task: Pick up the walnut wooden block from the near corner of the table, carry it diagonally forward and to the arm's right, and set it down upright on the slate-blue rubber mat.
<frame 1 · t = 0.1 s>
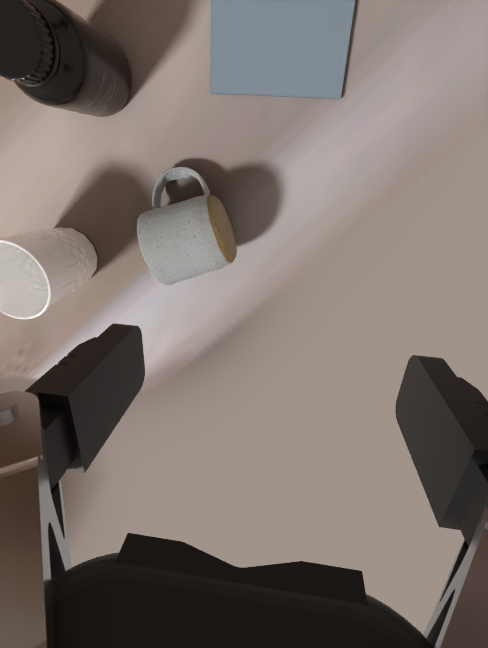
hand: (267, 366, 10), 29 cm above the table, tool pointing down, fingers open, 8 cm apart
supplement bottle: (100, 77, 33), on the table
ceramic mug: (192, 220, 38), on the table
slate mat: (281, 12, 29), on the table
white cup: (72, 254, 42), on the table
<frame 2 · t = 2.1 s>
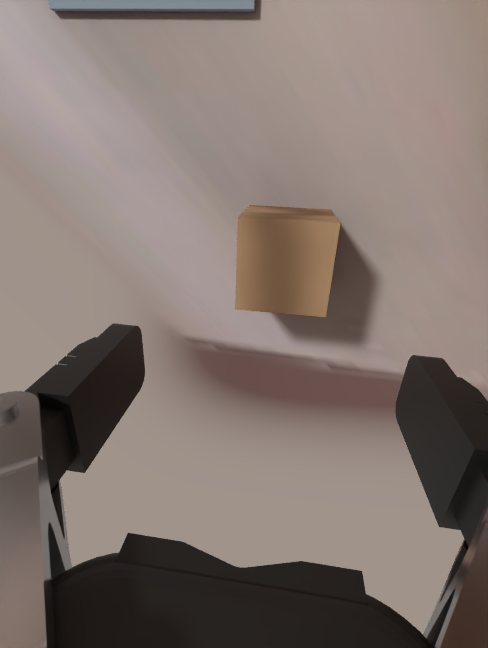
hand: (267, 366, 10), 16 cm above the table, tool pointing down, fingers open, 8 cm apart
walnut block: (286, 247, 25), on the table
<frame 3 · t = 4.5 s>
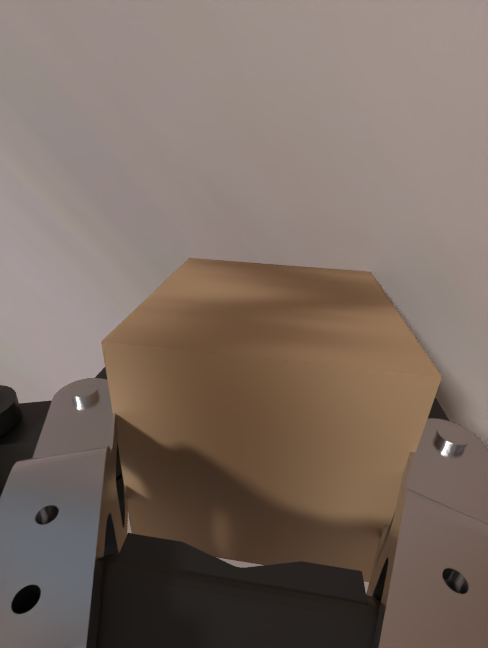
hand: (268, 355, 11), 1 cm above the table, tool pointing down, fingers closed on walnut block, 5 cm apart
walnut block: (270, 343, 12), on the table, touching gripper
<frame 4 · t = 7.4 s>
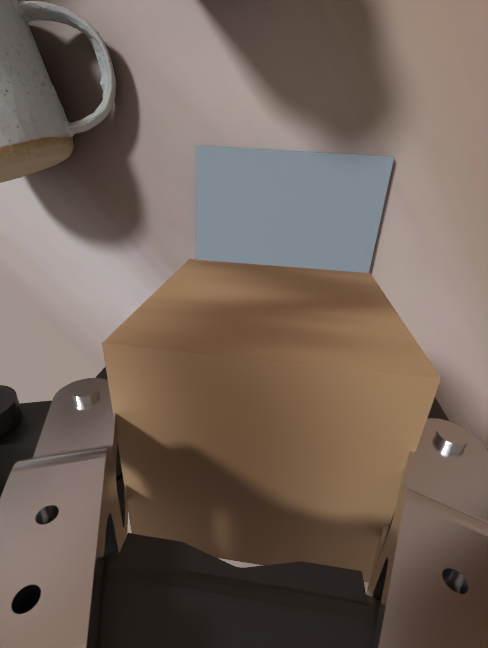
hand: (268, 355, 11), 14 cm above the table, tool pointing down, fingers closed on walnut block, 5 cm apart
ceramic mug: (43, 90, 22), on the table
walnut block: (270, 344, 12), point 14 cm above the table, touching gripper
slate mat: (282, 247, 24), on the table
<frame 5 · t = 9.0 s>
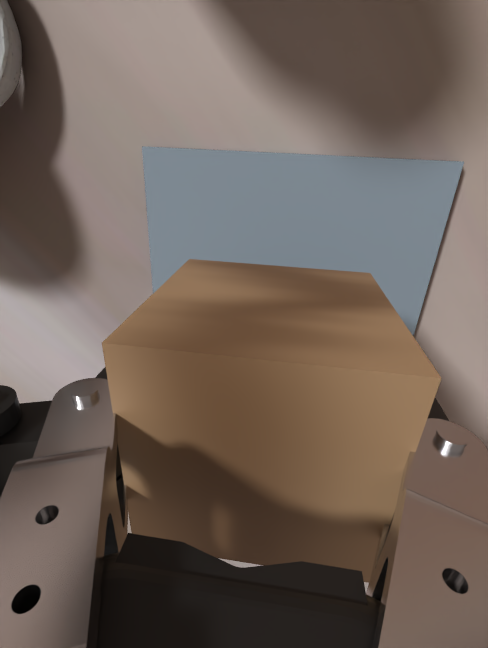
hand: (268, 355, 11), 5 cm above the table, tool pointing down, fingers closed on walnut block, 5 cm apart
walnut block: (270, 344, 12), point 5 cm above the table, touching gripper
slate mat: (281, 298, 16), on the table
when the fingers open (3 cm above the table, at t = 10.5 s): walnut block drops 1 cm, resting on slate mat.
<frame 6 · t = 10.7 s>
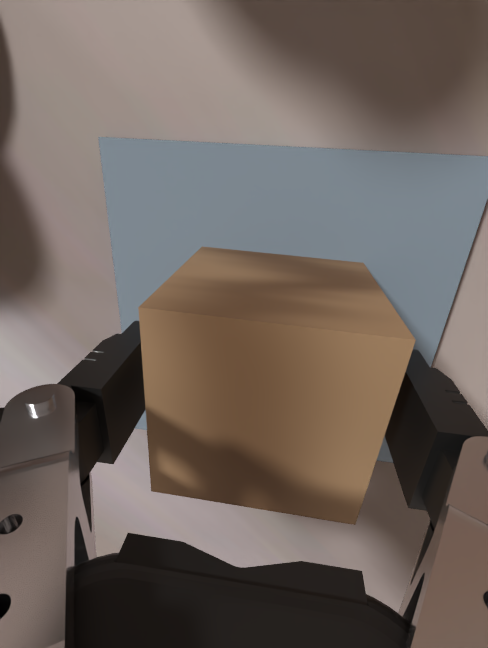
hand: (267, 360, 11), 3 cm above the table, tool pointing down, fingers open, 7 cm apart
walnut block: (272, 326, 13), resting on slate mat
slate mat: (272, 321, 13), on the table
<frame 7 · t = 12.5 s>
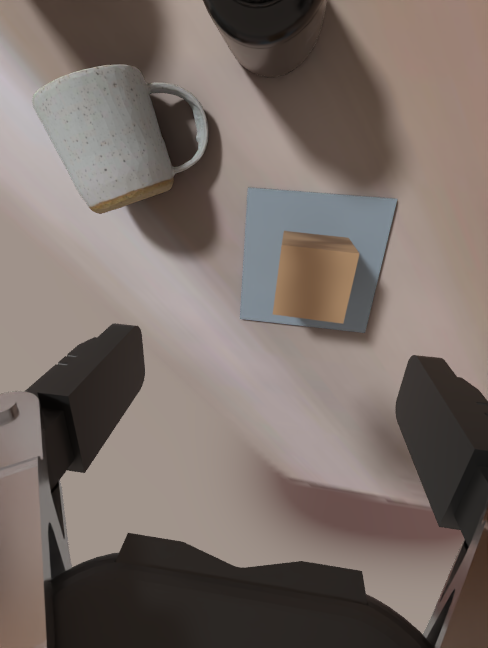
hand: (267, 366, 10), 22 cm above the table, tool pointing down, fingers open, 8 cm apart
supplement bottle: (273, 20, 24), on the table
ceramic mug: (147, 138, 29), on the table
walnut block: (310, 265, 31), resting on slate mat
slate mat: (310, 264, 31), on the table
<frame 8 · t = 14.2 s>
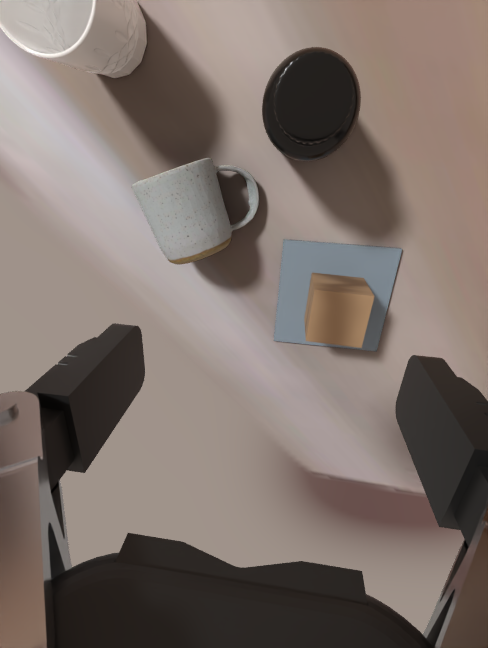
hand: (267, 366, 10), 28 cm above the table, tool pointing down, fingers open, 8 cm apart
supplement bottle: (306, 119, 32), on the table
ceramic mug: (207, 201, 36), on the table
walnut block: (332, 298, 38), resting on slate mat
slate mat: (332, 297, 38), on the table
white cup: (112, 33, 31), on the table
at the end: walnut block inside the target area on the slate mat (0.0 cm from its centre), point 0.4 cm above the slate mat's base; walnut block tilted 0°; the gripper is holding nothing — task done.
